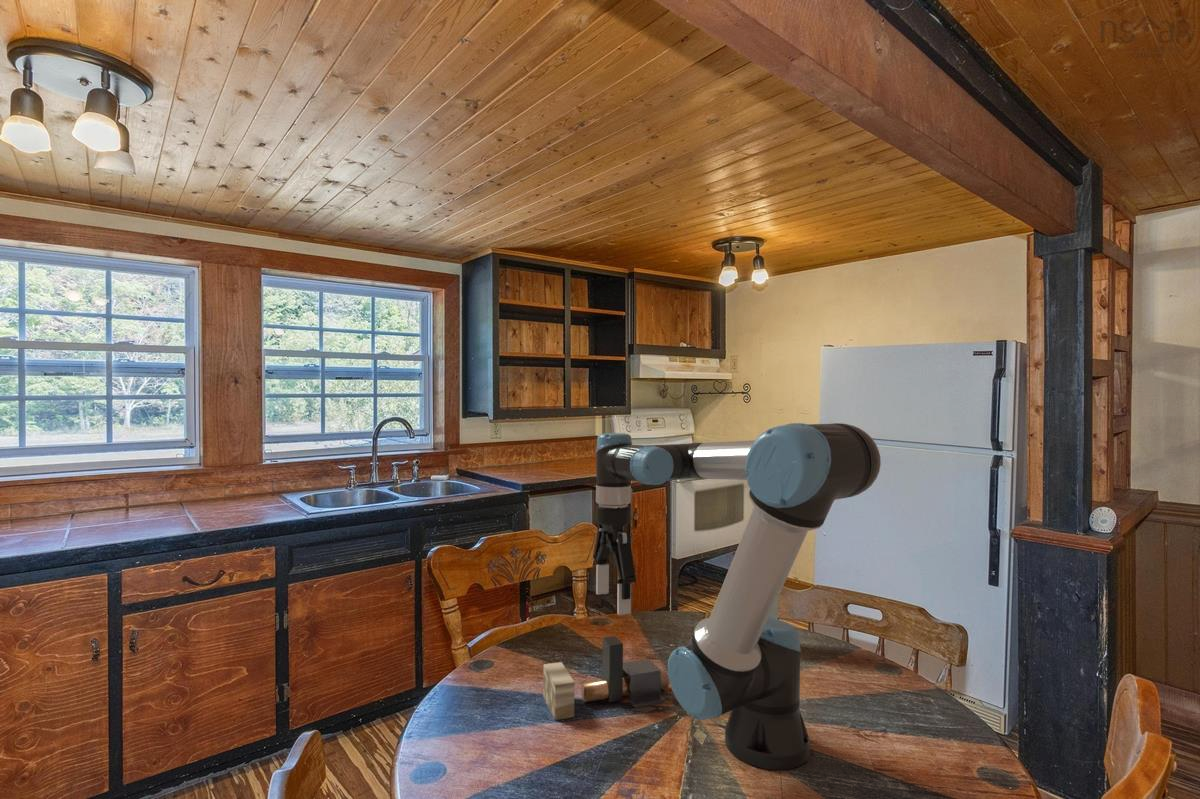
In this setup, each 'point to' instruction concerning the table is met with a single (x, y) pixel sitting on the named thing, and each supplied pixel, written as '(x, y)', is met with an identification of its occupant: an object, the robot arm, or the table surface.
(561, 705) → the socket block
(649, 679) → the grey block
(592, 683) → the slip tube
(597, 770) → the table surface
